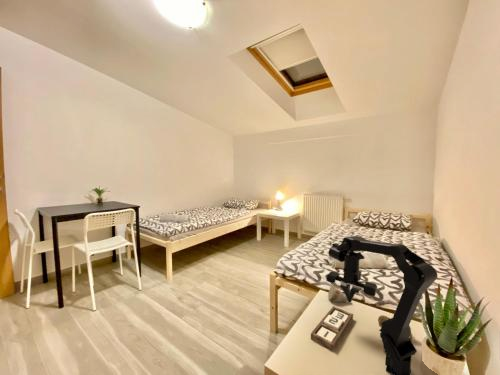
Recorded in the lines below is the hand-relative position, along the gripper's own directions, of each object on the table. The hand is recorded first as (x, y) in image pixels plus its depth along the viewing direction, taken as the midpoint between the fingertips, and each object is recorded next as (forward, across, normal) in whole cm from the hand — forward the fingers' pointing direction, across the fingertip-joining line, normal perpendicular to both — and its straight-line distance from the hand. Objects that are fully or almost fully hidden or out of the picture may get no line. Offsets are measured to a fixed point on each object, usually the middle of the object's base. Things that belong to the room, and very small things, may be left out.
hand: (349, 302), depth 91 cm
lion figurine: (+13, -16, -8) cm, 22 cm away
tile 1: (+12, +6, +11) cm, 17 cm away
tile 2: (+10, +5, +3) cm, 12 cm away
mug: (+13, +10, -19) cm, 25 cm away
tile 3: (+12, +5, -4) cm, 14 cm away
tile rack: (+12, +5, +3) cm, 14 cm away
